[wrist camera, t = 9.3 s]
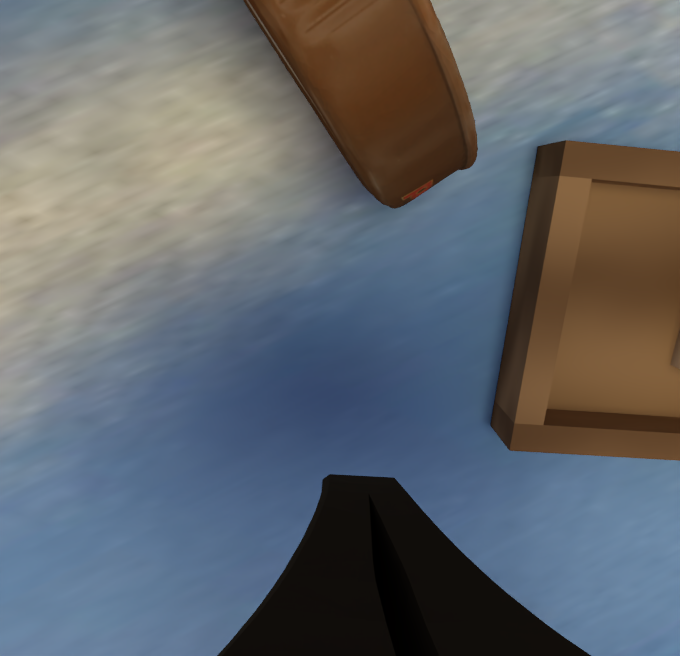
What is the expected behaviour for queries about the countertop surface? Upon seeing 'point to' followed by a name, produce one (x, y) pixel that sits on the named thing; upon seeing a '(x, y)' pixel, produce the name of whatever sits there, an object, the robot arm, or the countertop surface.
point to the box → (596, 307)
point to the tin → (378, 87)
